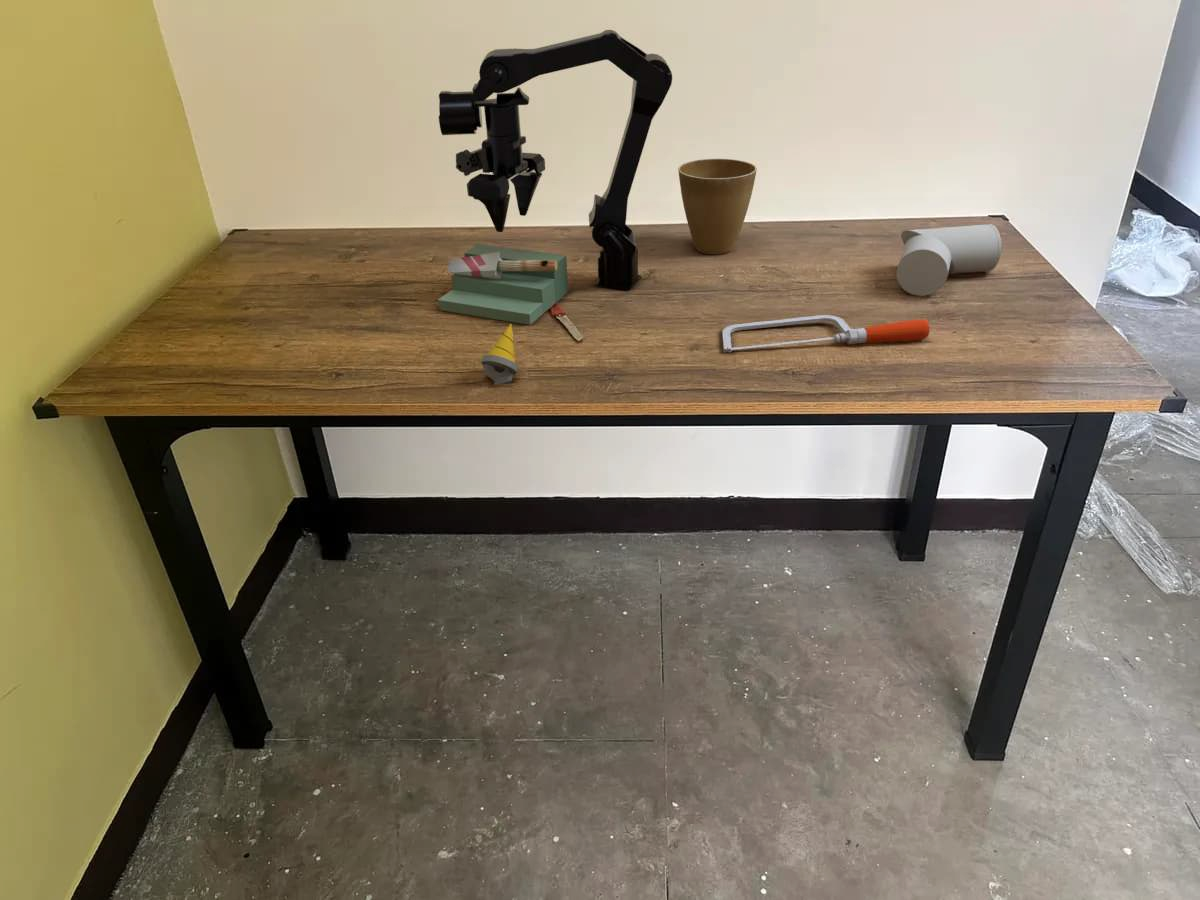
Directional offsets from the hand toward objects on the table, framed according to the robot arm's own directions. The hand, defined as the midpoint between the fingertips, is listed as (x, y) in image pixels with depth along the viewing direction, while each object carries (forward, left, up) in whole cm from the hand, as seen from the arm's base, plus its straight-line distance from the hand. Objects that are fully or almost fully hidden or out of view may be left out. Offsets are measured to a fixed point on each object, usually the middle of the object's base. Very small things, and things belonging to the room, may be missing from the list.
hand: (511, 223), depth 158 cm
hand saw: (-56, +2, -12) cm, 57 cm away
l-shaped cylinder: (-72, -30, -12) cm, 79 cm away
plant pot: (-28, -31, -12) cm, 44 cm away
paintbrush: (-1, +6, -6) cm, 9 cm away
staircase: (-1, +7, -12) cm, 14 cm away
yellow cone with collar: (-14, +32, -12) cm, 37 cm away
